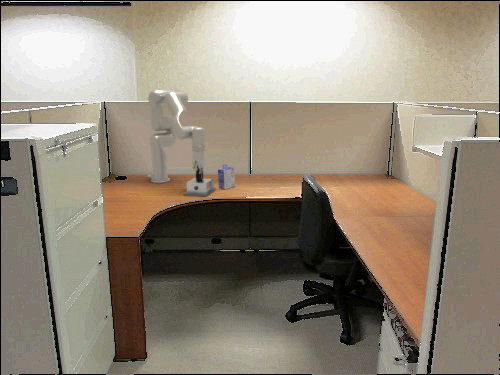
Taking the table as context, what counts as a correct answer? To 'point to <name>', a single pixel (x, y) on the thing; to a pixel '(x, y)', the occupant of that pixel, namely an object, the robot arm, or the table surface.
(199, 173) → the robot arm
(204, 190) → the block
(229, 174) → the ink cartridge box
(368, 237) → the table surface
